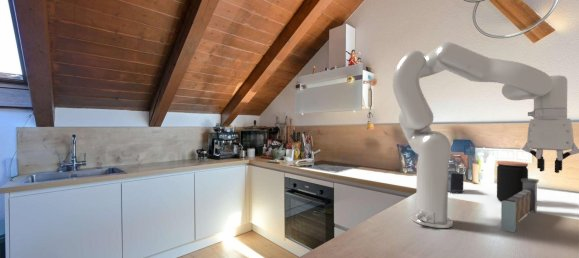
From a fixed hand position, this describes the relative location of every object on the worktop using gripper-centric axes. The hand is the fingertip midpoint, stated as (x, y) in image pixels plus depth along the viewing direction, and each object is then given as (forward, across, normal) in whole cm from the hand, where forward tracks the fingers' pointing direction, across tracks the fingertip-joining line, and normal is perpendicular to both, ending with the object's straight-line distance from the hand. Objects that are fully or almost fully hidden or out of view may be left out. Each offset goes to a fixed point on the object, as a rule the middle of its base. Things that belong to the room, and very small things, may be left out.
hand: (549, 171), depth 81 cm
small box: (+19, -40, +35) cm, 57 cm away
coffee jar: (+19, -16, +35) cm, 43 cm away
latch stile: (+19, -8, -10) cm, 23 cm away
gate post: (+19, -8, +22) cm, 30 cm away
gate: (+18, -8, +6) cm, 21 cm away
